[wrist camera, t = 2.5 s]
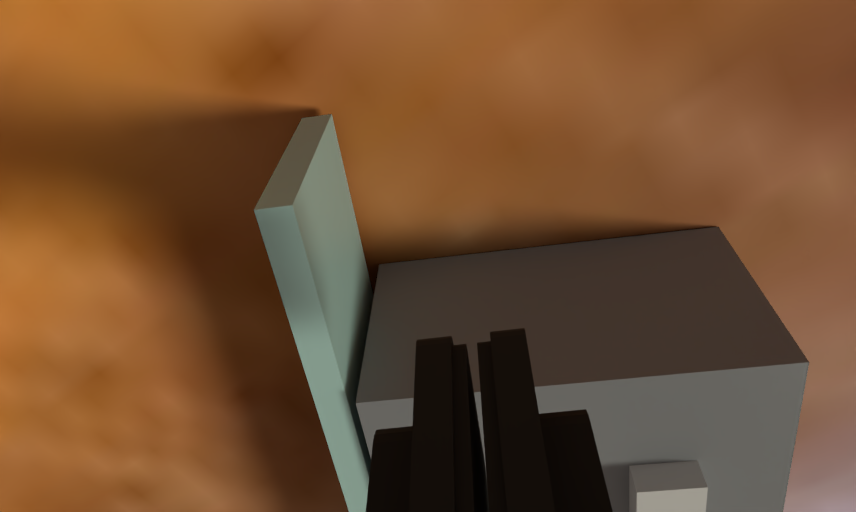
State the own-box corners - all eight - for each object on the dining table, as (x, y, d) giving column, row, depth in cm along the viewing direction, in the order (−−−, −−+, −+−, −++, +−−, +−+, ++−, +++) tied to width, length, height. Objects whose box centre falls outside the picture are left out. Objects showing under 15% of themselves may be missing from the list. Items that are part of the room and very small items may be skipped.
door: (437, 568, 28) (434, 705, 24) (415, 569, 28) (409, 706, 24) (333, 114, 18) (295, 204, 14) (299, 118, 18) (251, 210, 14)
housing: (693, 551, 28) (756, 741, 22) (445, 567, 29) (443, 752, 23) (718, 226, 20) (826, 387, 14) (379, 264, 21) (351, 428, 15)
